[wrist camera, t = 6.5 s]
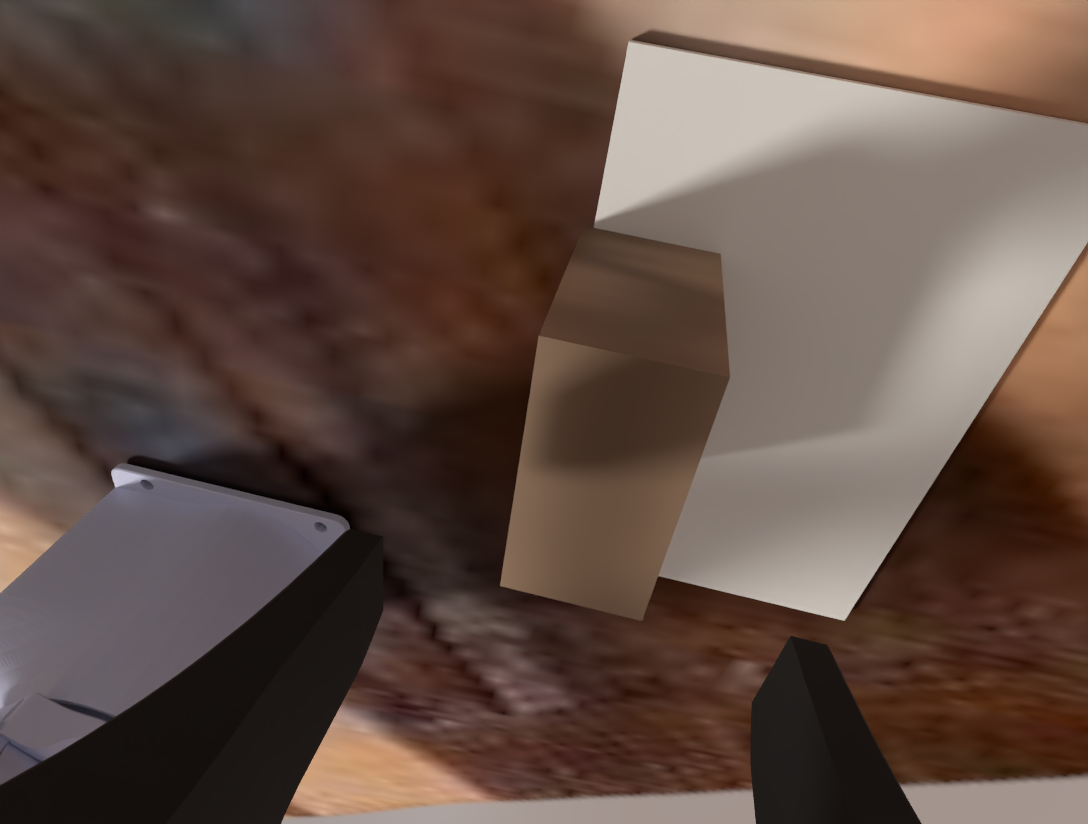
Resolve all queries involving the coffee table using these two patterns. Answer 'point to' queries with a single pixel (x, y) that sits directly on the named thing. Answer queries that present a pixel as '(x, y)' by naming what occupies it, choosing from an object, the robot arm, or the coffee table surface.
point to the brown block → (616, 420)
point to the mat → (838, 295)
